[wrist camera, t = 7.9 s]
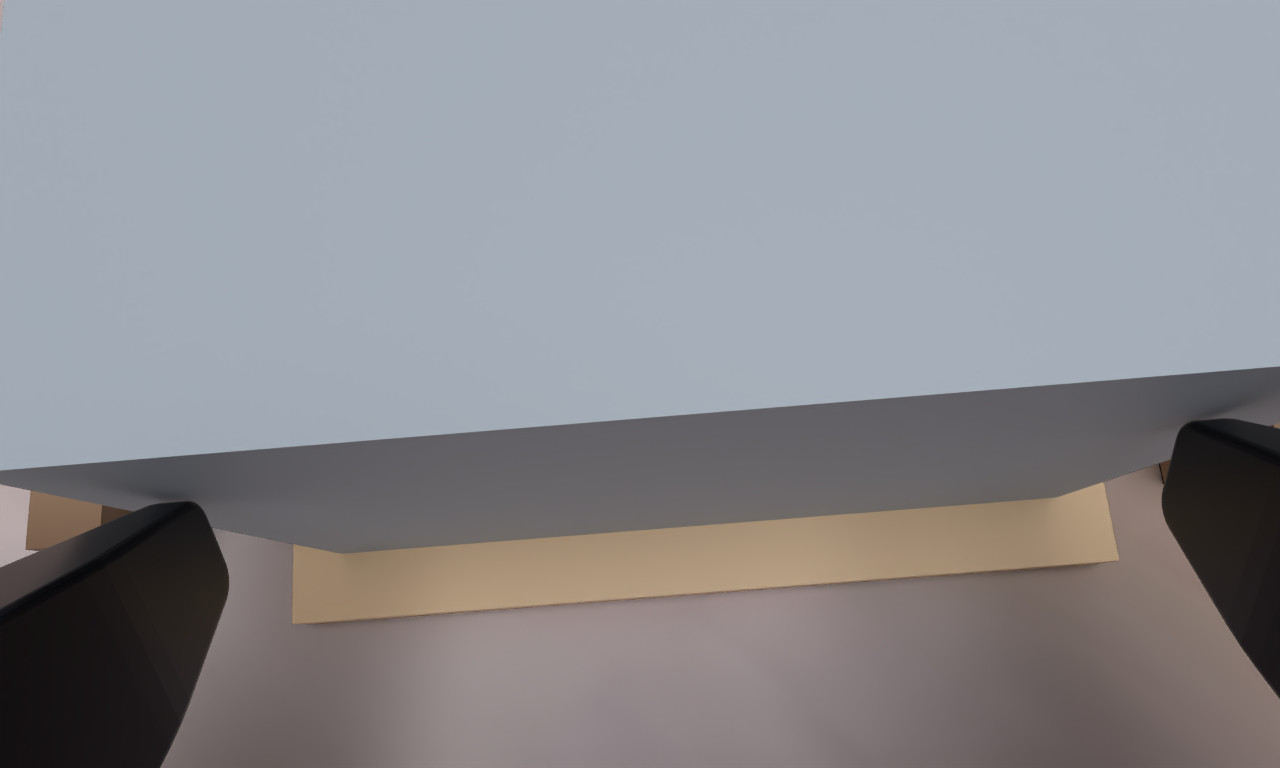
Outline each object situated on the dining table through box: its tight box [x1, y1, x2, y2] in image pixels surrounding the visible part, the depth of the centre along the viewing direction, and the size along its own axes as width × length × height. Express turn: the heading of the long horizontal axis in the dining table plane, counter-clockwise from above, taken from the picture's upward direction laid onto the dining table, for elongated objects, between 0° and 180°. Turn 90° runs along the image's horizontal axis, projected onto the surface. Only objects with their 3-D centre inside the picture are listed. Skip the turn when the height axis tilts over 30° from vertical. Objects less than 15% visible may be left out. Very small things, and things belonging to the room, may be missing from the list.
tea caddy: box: [0, 0, 1280, 624], centre depth 12 cm, size 12×12×9 cm
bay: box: [25, 423, 1280, 551], centre depth 15 cm, size 12×18×3 cm
